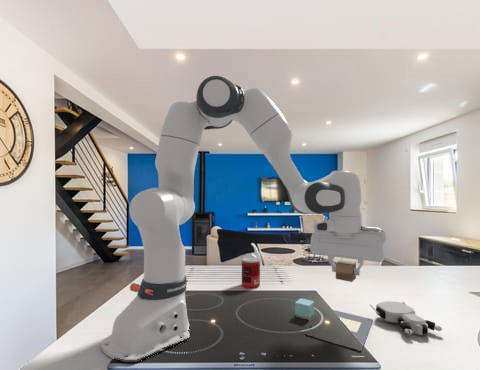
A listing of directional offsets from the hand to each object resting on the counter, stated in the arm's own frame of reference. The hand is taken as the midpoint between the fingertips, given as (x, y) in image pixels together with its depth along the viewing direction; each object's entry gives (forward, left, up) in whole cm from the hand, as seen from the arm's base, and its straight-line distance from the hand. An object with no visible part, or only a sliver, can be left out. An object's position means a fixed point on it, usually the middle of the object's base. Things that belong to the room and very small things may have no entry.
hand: (345, 273), depth 77 cm
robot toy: (+10, -14, -15) cm, 23 cm away
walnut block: (0, 0, -2) cm, 2 cm away
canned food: (+14, +41, -15) cm, 46 cm away
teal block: (-1, +12, -15) cm, 19 cm away
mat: (-2, +1, -15) cm, 15 cm away
